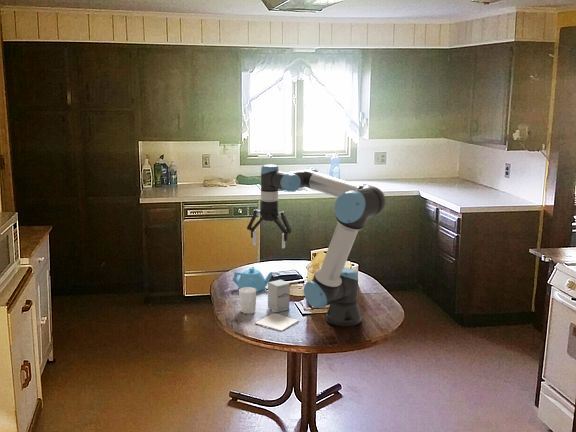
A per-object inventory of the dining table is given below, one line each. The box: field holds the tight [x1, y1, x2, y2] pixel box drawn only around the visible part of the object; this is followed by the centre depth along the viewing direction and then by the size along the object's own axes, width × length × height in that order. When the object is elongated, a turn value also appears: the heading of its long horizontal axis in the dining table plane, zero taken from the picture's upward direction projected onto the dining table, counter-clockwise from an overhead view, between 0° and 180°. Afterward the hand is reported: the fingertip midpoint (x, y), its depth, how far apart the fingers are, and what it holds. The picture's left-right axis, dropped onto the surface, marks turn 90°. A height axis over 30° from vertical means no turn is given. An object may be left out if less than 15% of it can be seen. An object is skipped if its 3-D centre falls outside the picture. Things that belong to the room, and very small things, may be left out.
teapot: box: [231, 266, 273, 293], centre depth 308 cm, size 15×15×11 cm
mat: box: [254, 313, 300, 333], centre depth 266 cm, size 14×13×1 cm
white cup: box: [238, 287, 257, 314], centre depth 279 cm, size 8×8×10 cm
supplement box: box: [267, 279, 291, 313], centre depth 281 cm, size 7×7×13 cm
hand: (269, 246), depth 277 cm, fingers open, 13 cm apart
